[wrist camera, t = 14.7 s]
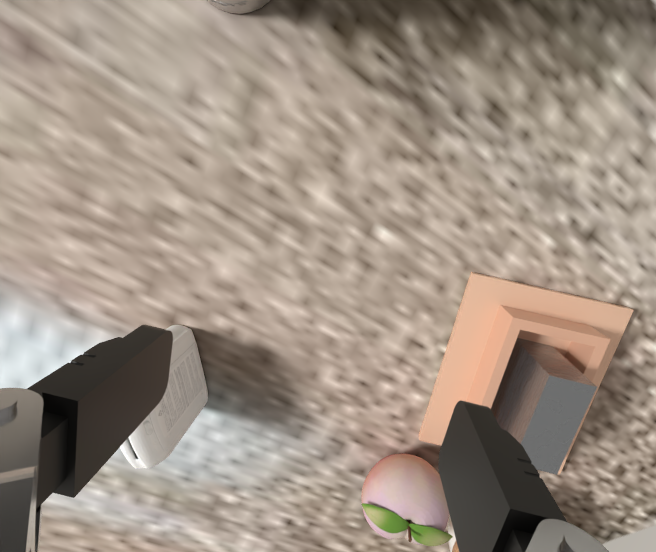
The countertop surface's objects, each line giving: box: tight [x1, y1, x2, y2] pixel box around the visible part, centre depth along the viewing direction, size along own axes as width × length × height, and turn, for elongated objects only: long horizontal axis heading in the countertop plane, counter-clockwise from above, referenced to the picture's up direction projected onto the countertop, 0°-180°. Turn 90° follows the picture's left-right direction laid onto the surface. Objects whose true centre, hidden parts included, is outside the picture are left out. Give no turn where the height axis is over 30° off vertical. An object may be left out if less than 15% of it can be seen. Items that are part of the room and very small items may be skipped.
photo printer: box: [120, 325, 208, 469], centre depth 39 cm, size 10×4×12 cm, turn 9°
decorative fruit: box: [362, 454, 453, 546], centre depth 41 cm, size 9×8×10 cm
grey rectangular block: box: [491, 338, 597, 474], centre depth 37 cm, size 9×4×8 cm, turn 168°
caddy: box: [419, 272, 634, 474], centre depth 40 cm, size 16×20×4 cm
